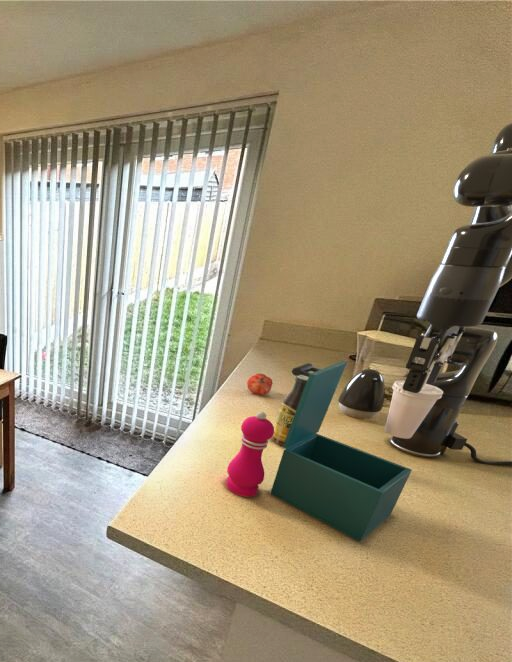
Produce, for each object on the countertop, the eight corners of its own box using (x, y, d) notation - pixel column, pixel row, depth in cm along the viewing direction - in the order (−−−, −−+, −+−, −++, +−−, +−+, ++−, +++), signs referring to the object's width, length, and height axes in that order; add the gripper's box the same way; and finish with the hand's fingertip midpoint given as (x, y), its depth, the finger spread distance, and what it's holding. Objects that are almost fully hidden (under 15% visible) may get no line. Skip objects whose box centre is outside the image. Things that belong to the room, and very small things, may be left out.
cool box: (389, 516, 81) (412, 469, 77) (360, 542, 75) (382, 492, 71) (301, 475, 95) (315, 433, 90) (270, 494, 89) (283, 449, 84)
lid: (347, 362, 82) (317, 353, 87) (314, 375, 76) (283, 365, 80) (318, 432, 90) (292, 421, 94) (286, 449, 84) (259, 436, 88)
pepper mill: (255, 481, 93) (276, 406, 85) (262, 501, 87) (287, 422, 79) (221, 476, 95) (239, 402, 87) (226, 494, 89) (246, 417, 81)
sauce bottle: (264, 437, 111) (283, 372, 103) (285, 435, 111) (305, 371, 104) (281, 449, 105) (303, 381, 97) (303, 448, 105) (326, 380, 98)
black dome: (341, 419, 119) (358, 373, 113) (329, 405, 128) (344, 362, 122) (383, 425, 115) (403, 378, 109) (368, 410, 124) (386, 365, 118)
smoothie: (431, 443, 71) (466, 372, 65) (390, 441, 72) (420, 370, 66) (405, 426, 76) (434, 358, 71) (367, 423, 78) (393, 357, 72)
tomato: (242, 393, 143) (243, 385, 135) (251, 375, 143) (252, 366, 135) (265, 401, 139) (268, 393, 130) (274, 382, 139) (277, 373, 131)
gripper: (479, 302, 57) (432, 404, 64) (506, 291, 64) (461, 385, 70) (411, 294, 63) (374, 388, 70) (442, 285, 70) (405, 372, 76)
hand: (418, 386), depth 70 cm, fingers closed on smoothie, 6 cm apart
